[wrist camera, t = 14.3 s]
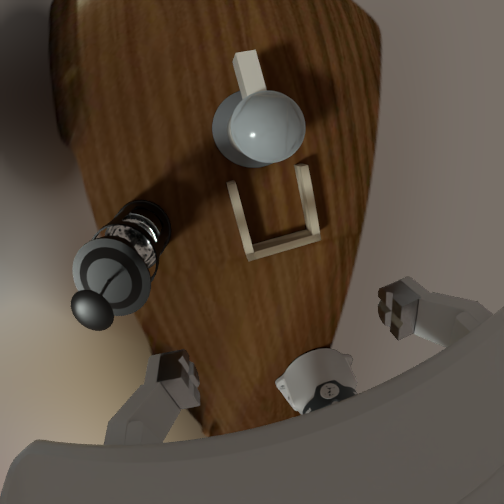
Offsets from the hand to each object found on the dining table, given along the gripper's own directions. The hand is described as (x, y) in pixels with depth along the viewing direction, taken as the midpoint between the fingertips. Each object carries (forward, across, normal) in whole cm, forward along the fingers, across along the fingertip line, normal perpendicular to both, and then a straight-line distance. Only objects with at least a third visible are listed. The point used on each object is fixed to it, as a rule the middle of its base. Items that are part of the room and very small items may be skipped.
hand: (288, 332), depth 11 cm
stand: (+33, -6, +5) cm, 34 cm away
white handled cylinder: (+33, -6, -11) cm, 35 cm away
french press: (+33, +15, +2) cm, 37 cm away
